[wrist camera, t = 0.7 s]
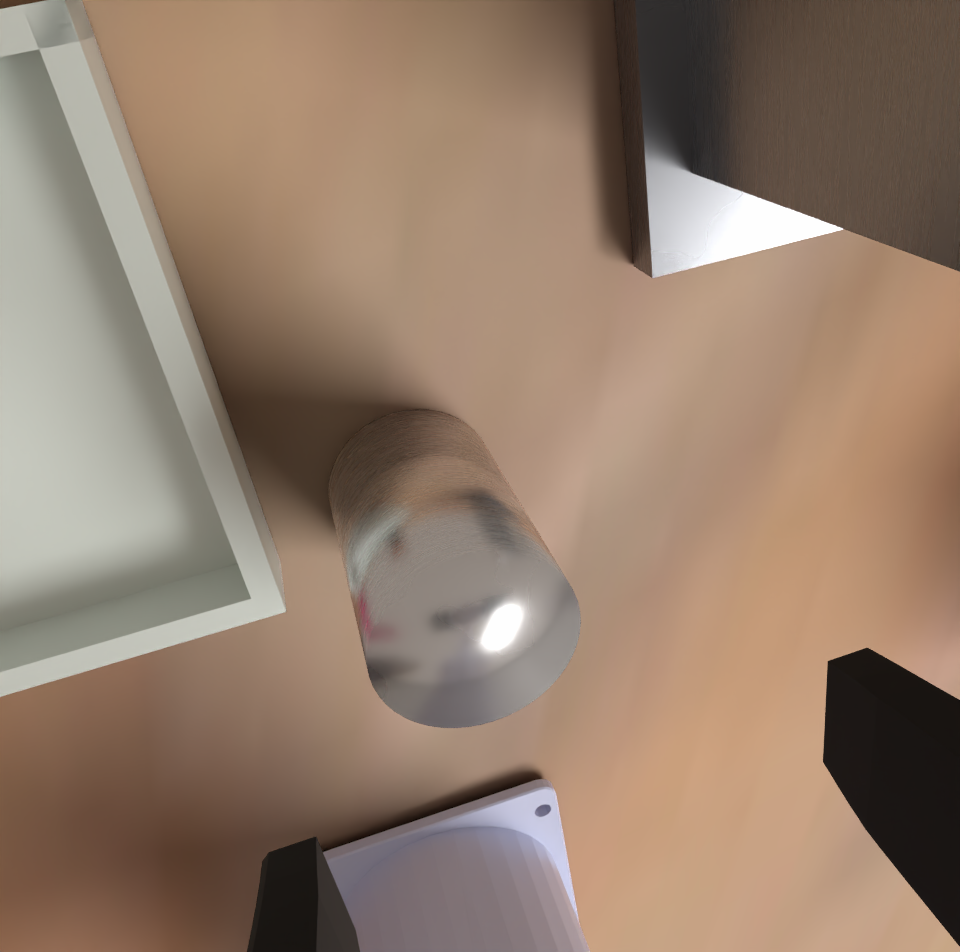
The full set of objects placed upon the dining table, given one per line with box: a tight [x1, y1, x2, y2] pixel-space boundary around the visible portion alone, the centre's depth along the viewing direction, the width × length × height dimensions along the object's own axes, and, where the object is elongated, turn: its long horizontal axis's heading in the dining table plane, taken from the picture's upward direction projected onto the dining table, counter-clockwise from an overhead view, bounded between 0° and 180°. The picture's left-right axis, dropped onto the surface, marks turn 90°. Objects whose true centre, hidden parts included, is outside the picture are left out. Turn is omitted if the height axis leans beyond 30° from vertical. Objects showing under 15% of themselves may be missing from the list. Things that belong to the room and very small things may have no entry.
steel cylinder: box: [328, 409, 581, 728], centre depth 18 cm, size 4×4×6 cm
